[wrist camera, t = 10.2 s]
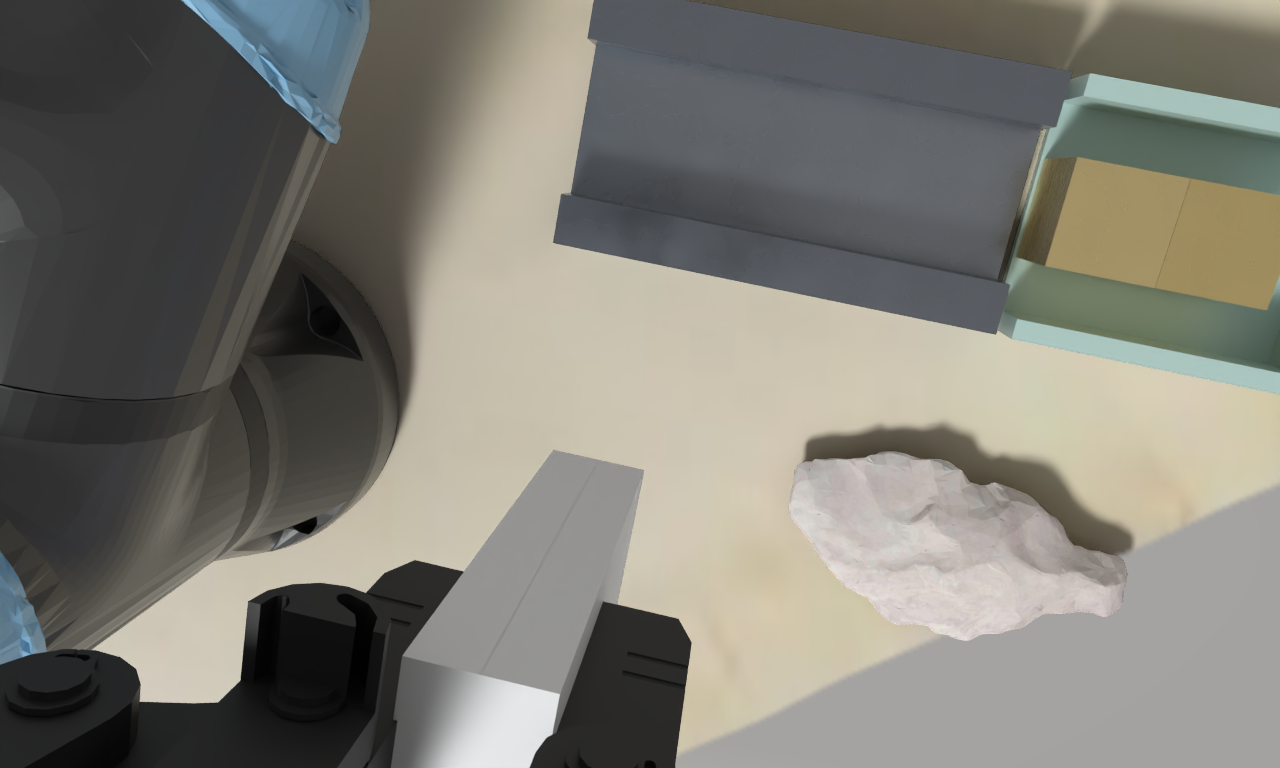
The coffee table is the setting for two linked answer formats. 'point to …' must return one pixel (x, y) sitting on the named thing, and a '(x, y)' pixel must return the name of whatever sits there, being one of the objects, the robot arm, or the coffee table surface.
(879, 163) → the slot board
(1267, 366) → the tray
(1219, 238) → the chip
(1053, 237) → the chip
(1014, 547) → the stone tool
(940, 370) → the coffee table surface
